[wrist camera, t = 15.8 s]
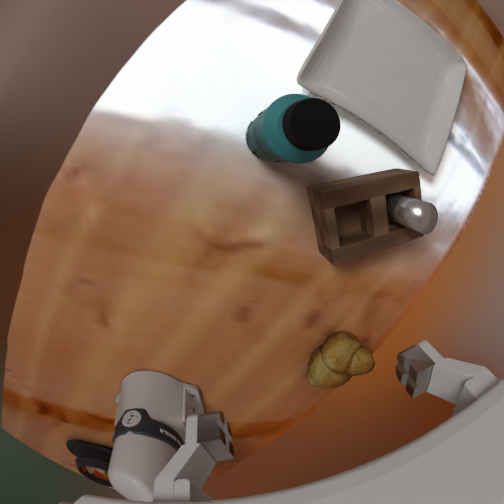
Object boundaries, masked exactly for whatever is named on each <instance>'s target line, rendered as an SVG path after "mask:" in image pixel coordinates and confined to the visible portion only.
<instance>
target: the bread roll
mask: <svg viewBox="0 0 504 504" xmlns="http://www.w3.org/2000/svg"><path fill="white" fill-rule="evenodd" d="M374 366H375V362H374V360H373V357H372V353H371V351H370V350H369V349H368V348H366V347H362V344H361V342H360V341H359V340H358V339H357V338H356V337H354V336H352V335H351V334H349V333H348V332H344V331H341V332H337V333H334V334H332V335H330V336H329V337H328V338H327V339H326V340H325V342H324V343H323V344H322V345H320V346H319V347H318V348H317V349H316V350H315V351H314V352H313V353H312V354H311V358H310V361H309V363H308V370H307V380H308V382H309V384H311V385H313V386H317V387H318V386H320V387H323V388H325V389H332V388H336V387H338V386H341V385H343V384H345V383H346V382H347V381H348V380H349V379H350V378H351V377H352V376H355V375H362V374H366V373H369V372H370V371H371V370H372V369H373V368H374Z"/></svg>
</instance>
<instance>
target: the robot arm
mask: <svg viewBox="0 0 504 504" xmlns="http://www.w3.org/2000/svg"><path fill="white" fill-rule="evenodd" d="M397 360H398V361H399V362H398V364H397V365H396V374H397V377H398V380H399V381H400V382H401V383H402V384H405V385H406V390H407V392H408V393H409V395H410V396H411V397H412V398H414V397H416V396H418V395H420V394H422V393H424V392H426V391H427V392H429V393H431V394H433V395H435V396H438V397H440V398H442V399H445V400H447V401H449V402H452V403H454V404H456V406H455V409H454V411H453V413H452V416H453V417H452V418H451V419H449V420H447V421H446V422H444V423H443V424H441V425H439V426H438V427H436V428H435V429H433V430H431V431H430V432H428V433H426V434H425V435H423V436H421V437H419V438H417V439H416V440H414V441H412V442H410V443H408V444H406V445H404V446H402V447H400V448H398V449H396V450H395V451H392V452H390V453H388V454H386V455H384V456H382V457H380V458H377V459H375V460H373V461H370V462H368V463H366V464H363V465H361V466H358V467H356V468H353V469H350V470H348V471H345V472H342V473H339V474H337V475H334V476H331V477H328V478H324V479H321V480H318V481H315V482H311V483H308V484H304V485H300V486H297V487H293V488H289V489H284V490H280V491H275V492H270V493H265V494H260V495H254V496H248V497H241V498H234V499H226V500H215V501H211V499H210V498H209V497H208V496H207V495H206V494H204V493H203V492H202V491H201V489H202V487H203V485H204V483H205V482H206V480H207V478H208V477H209V475H210V473H211V471H212V469H213V468H214V466H215V464H216V462H217V461H223V460H228V459H234V450H233V446H232V444H231V443H230V442H231V440H232V432H231V428H230V426H229V423H228V421H227V420H224V415H223V413H222V411H217V412H211V413H205V410H204V406H203V403H202V399H201V395H200V391H199V388H198V387H196V386H194V385H190V384H186V383H182V382H180V381H178V380H176V379H174V378H172V377H170V376H168V375H166V374H163V373H159V372H154V371H138V372H134V373H131V374H129V375H128V376H126V377H125V378H124V380H123V381H122V384H121V391H120V393H119V394H118V395H117V397H116V402H117V404H118V407H117V413H116V420H115V426H116V427H115V431H114V432H113V444H114V446H113V450H112V455H111V459H110V464H109V468H108V478H109V481H110V483H111V485H112V486H113V487H114V488H115V489H116V490H117V491H118V492H119V493H120V494H121V495H123V496H124V497H126V498H127V499H128V500H121V499H113V498H105V497H99V496H93V495H84V496H82V497H81V498H80V499H78V500H77V501H76V502H75V503H71V502H61V503H59V504H504V378H503V379H501V380H500V381H499V380H498V379H497V378H496V377H495V376H494V375H493V374H492V373H491V372H490V371H489V370H488V369H487V368H486V367H483V366H479V365H474V364H470V363H466V362H462V361H458V360H454V359H450V358H445V359H444V358H443V357H442V356H441V355H440V354H439V353H438V352H437V351H436V350H435V349H434V348H433V347H432V346H431V345H430V344H429V343H428V342H427V341H425V340H424V341H422V342H420V343H418V344H416V345H414V346H412V347H410V348H408V349H406V350H404V351H402V352H400V353H398V355H397Z"/></svg>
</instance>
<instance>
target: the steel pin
mask: <svg viewBox="0 0 504 504" xmlns="http://www.w3.org/2000/svg"><path fill="white" fill-rule="evenodd" d="M385 198H386V207H387V217H388V219H390V220H392V221H394V222H397V223H399V224H402V225H404V226H406V227H409V228H411V229H413V230H415V231H418V232H420V233H422V234H428V233H430V232H431V231H432V230H433V229H434V228H435V226H436V224H437V220H438V213H437V210H436V208H435V206H434V205H433V204H431V203H428V202H424V201H421V200H417V199H414V198H410V197H406V196H402V195H398V194H394V193H391V194H387V195H385Z"/></svg>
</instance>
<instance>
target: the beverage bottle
mask: <svg viewBox="0 0 504 504" xmlns="http://www.w3.org/2000/svg"><path fill="white" fill-rule="evenodd" d="M262 111H263V112H261V113H260V114H259V115H258V117H257V118H256V119H255V120H254V121H253V122H252V121H251V123H249V126H248V128H247V129H248V130H247V134H246V133H245V134H246V141H247V145H248V147H249V149H250V150H251V151H252V153H253V154H254V156H255V155H256V156H257V157H258V158H261V159H264V160H272V161H273V162H274V161H275V162H281V163H283V161H285V162H293V163H306V162H310V161H313V160H315V159H317V158H319V157H320V156H321V155H322V154H323V153H324V152H325V151H326V150H327V148H328V146H329V145H331V144H332V143H333V142H334V141H335V140H336V138H337V137H338V134H339V131H340V119H339V116H338V114H337V112H336V110H335V109H334V108H333V107H332V106H331V105H330V104H329V103H327V102H326V101H324V100H321V99H318V98H311V97H308V96H306V95H301V94H289V95H285V96H282V97H280V98H278V99H277V100H275V101H274V102H273V103H272V104H271V105H270V106H269V107H267V109H266V110H262ZM250 150H249V151H250ZM269 162H271V161H269Z"/></svg>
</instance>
